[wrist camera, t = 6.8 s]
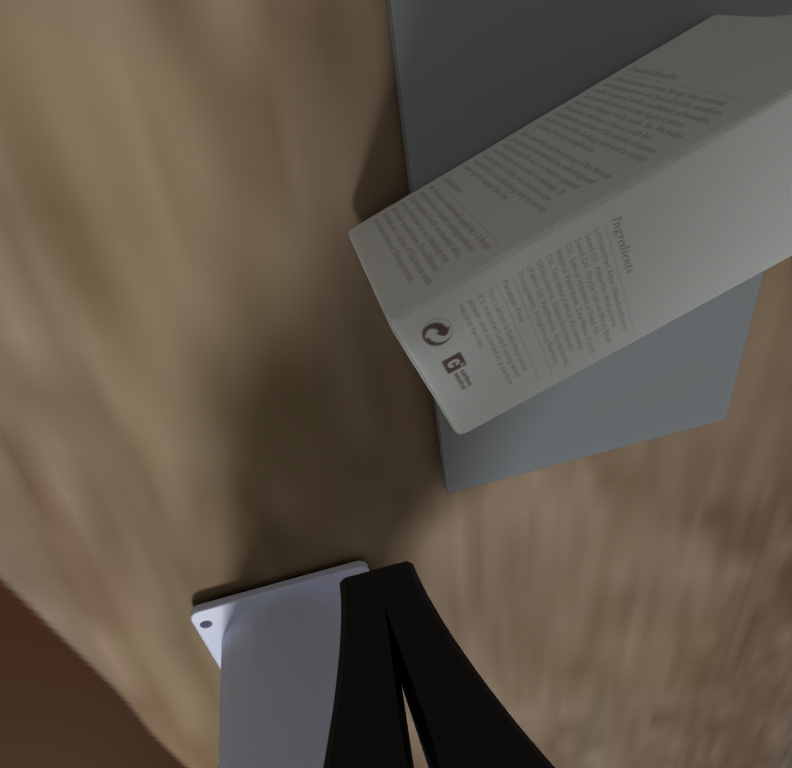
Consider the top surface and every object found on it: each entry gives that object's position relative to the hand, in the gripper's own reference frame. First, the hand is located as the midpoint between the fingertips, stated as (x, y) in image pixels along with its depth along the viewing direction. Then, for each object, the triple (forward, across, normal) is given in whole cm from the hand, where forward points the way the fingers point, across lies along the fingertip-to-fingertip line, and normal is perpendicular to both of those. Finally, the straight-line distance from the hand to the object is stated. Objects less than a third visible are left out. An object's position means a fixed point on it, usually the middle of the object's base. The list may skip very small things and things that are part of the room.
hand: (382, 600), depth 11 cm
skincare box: (+7, -2, -2) cm, 7 cm away
